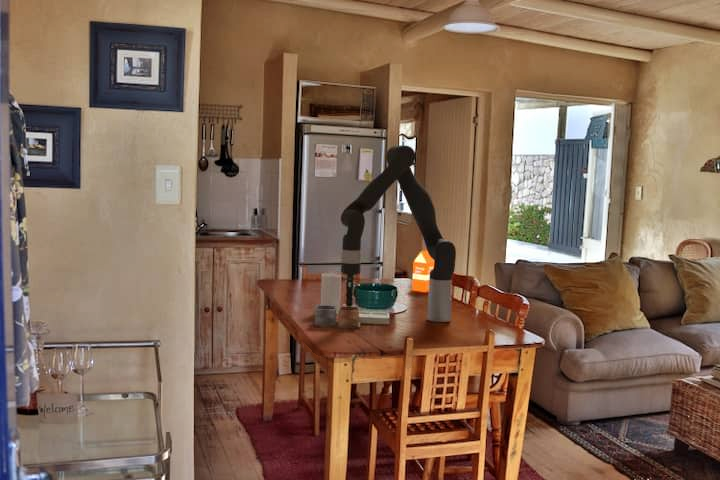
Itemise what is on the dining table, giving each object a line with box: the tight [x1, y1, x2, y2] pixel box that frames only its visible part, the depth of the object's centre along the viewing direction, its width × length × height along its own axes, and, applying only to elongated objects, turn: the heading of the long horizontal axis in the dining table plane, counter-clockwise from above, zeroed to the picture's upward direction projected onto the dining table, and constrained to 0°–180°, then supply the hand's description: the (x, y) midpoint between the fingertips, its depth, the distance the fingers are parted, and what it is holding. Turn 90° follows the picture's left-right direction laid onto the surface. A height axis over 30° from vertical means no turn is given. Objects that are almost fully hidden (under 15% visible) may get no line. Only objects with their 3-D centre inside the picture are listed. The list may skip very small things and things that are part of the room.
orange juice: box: [411, 250, 434, 293], centre depth 348 cm, size 8×9×20 cm
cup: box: [320, 272, 342, 315], centre depth 290 cm, size 8×8×16 cm
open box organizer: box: [312, 304, 361, 330], centre depth 269 cm, size 18×9×7 cm, turn 89°
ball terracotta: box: [343, 295, 356, 306], centre depth 268 cm, size 4×4×4 cm
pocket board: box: [359, 311, 390, 325], centre depth 278 cm, size 15×10×2 cm, turn 89°
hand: (349, 304), depth 268 cm, fingers closed on ball terracotta, 4 cm apart
